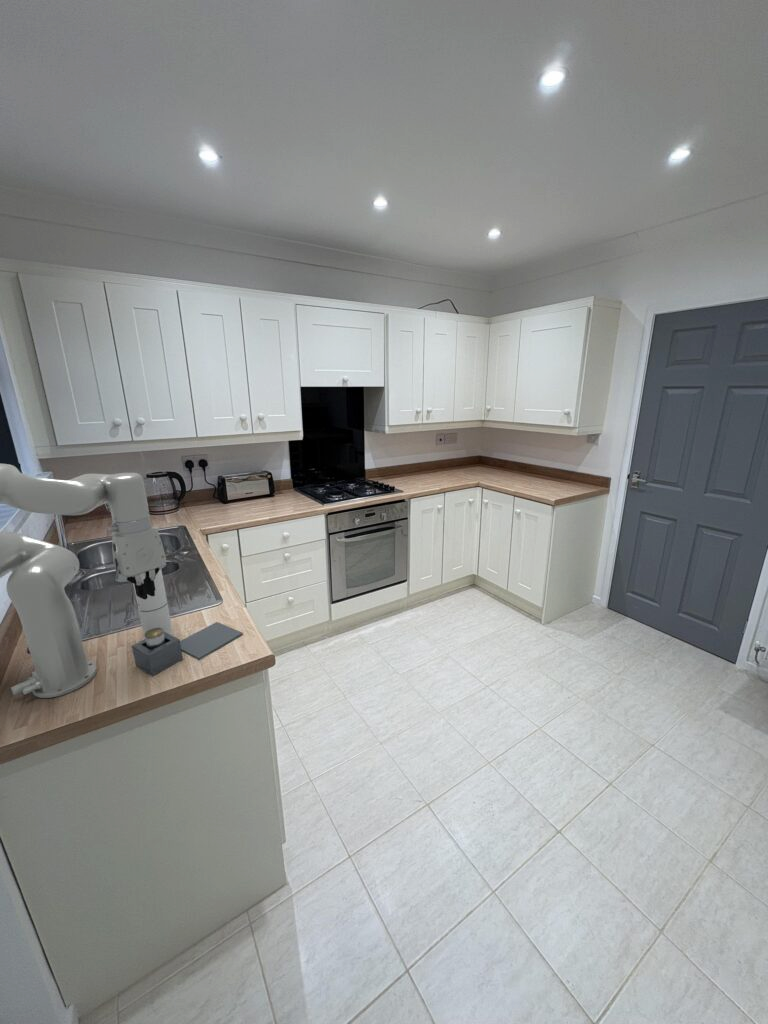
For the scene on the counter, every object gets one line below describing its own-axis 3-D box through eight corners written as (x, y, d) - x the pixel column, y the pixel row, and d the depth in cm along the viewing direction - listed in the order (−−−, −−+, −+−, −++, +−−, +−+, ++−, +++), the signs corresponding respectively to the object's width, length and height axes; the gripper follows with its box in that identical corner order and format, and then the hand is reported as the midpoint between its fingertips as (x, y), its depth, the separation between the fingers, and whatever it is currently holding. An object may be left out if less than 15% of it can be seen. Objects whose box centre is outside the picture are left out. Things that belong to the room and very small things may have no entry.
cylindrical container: (166, 629, 120) (152, 551, 114) (177, 638, 116) (163, 556, 109) (140, 640, 115) (124, 559, 108) (151, 649, 111) (134, 565, 104)
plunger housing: (152, 676, 100) (148, 655, 98) (135, 666, 104) (131, 645, 102) (183, 659, 106) (179, 639, 104) (166, 650, 110) (162, 630, 109)
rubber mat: (199, 660, 106) (198, 658, 105) (173, 646, 112) (172, 644, 112) (243, 634, 117) (242, 632, 117) (217, 623, 123) (217, 621, 123)
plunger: (153, 657, 101) (149, 638, 100) (144, 652, 103) (141, 633, 102) (169, 649, 105) (166, 630, 103) (161, 644, 107) (157, 626, 105)
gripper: (104, 537, 87) (121, 613, 92) (173, 519, 99) (184, 587, 104) (88, 532, 91) (105, 605, 96) (157, 515, 103) (168, 581, 108)
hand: (146, 596), depth 100 cm, fingers closed
